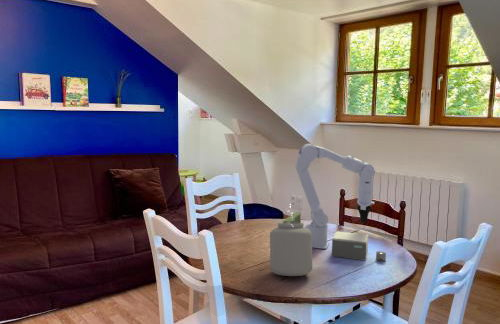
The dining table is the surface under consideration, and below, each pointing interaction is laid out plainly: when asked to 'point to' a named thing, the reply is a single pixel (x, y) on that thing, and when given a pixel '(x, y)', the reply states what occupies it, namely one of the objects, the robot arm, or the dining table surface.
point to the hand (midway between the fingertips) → (363, 222)
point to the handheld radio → (293, 218)
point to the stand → (380, 256)
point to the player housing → (352, 238)
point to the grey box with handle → (349, 249)
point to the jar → (291, 249)
